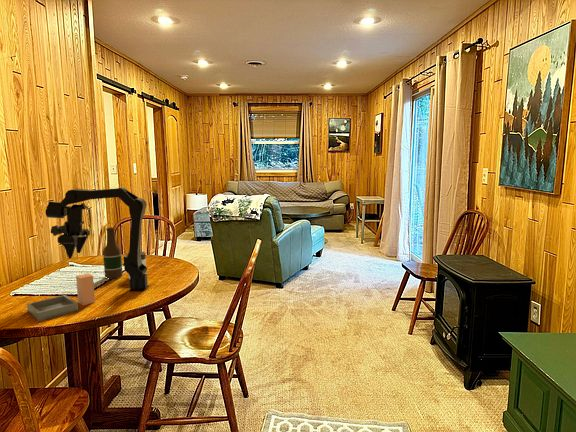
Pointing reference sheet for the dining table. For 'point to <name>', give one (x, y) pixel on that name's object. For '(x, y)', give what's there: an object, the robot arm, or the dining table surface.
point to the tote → (52, 307)
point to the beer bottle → (112, 256)
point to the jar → (143, 258)
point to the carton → (85, 289)
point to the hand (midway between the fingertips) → (74, 255)
